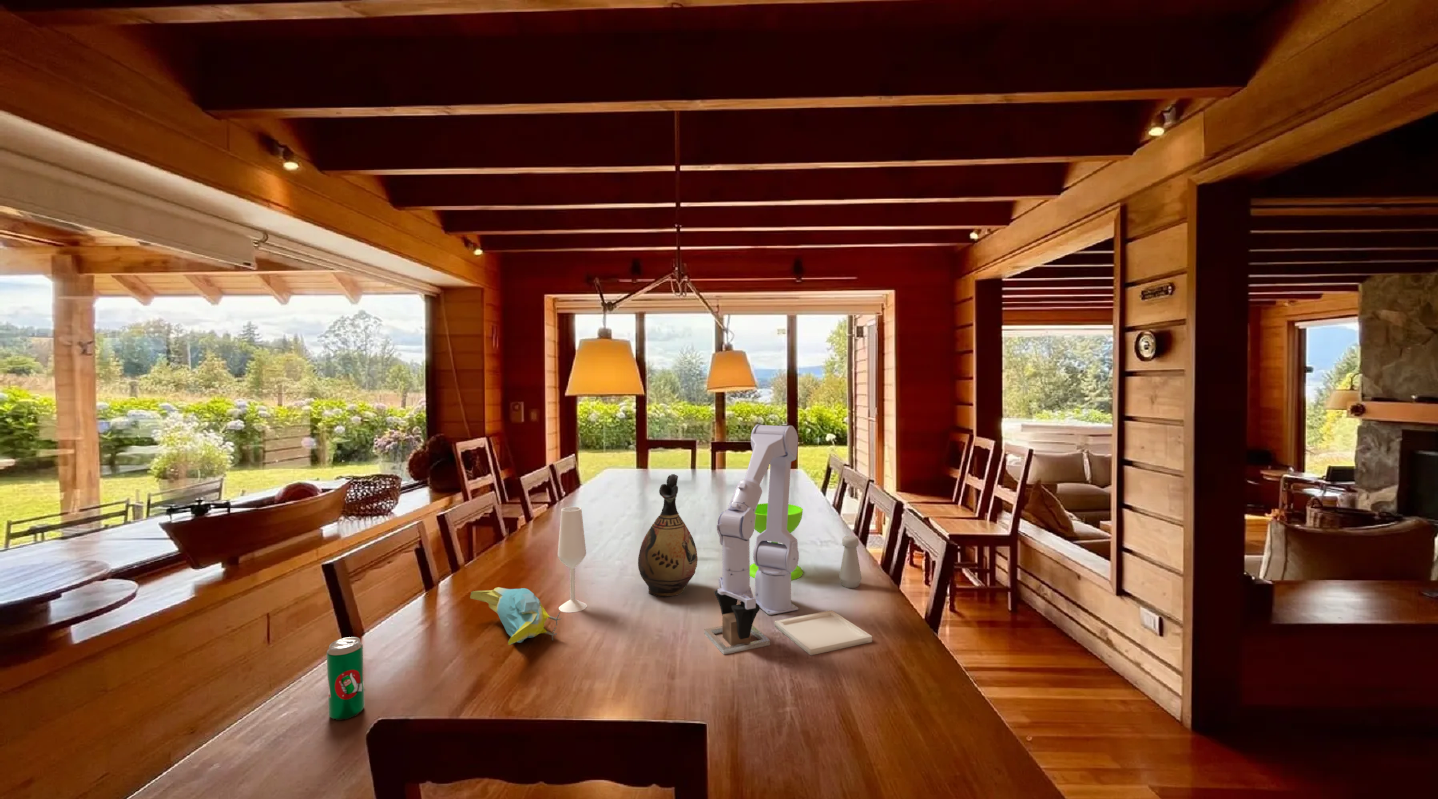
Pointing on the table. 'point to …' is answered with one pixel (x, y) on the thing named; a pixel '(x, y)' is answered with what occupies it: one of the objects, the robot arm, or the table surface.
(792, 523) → the wineglass
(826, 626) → the tray
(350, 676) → the soda can
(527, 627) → the decorative bird
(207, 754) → the table surface
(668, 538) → the ceramic jug
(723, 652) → the frame
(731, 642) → the walnut block
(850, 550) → the salt shaker
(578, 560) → the champagne flute
